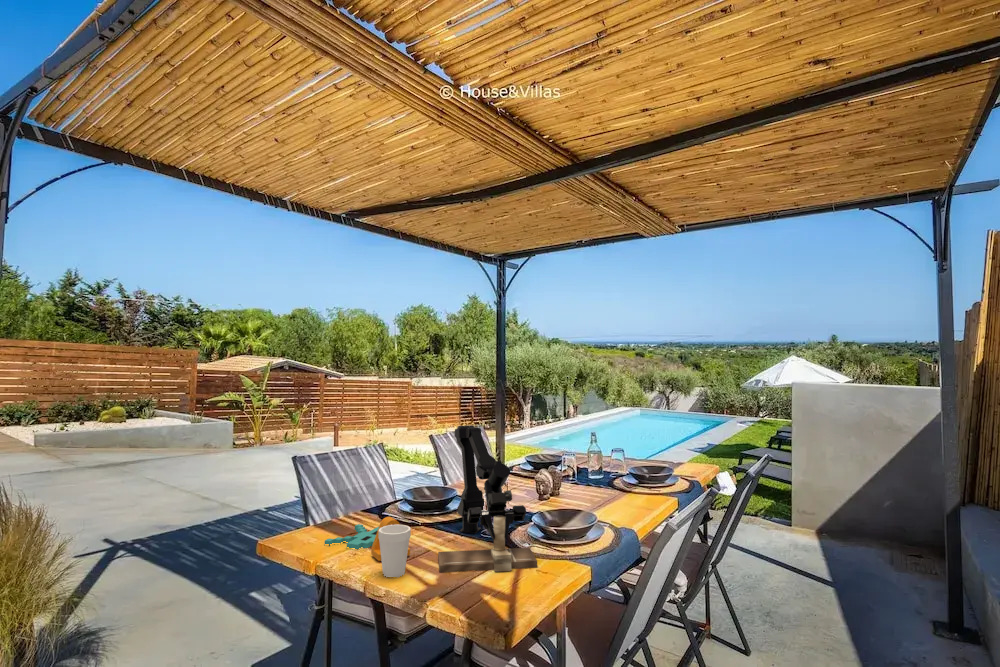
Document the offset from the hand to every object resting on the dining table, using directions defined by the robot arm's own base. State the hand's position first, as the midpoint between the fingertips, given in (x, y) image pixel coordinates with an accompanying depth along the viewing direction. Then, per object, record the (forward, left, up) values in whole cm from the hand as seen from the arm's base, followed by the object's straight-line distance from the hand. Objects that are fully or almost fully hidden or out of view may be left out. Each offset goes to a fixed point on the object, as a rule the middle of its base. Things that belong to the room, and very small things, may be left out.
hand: (500, 539), depth 167 cm
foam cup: (+18, -27, -8) cm, 34 cm away
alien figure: (-6, -52, -8) cm, 53 cm away
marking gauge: (+2, +1, -7) cm, 8 cm away
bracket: (+6, -35, -8) cm, 37 cm away
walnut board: (+1, -4, -8) cm, 9 cm away
